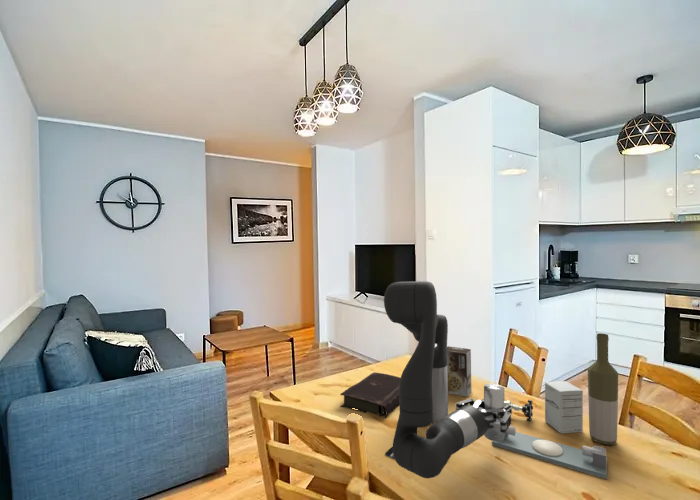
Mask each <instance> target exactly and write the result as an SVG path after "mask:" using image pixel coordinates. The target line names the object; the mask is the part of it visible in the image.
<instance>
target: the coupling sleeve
mask: <svg viewBox="0 0 700 500" xmlns="http://www.w3.org/2000/svg"><path fill="white" fill-rule="evenodd" d="M483 399H484V409H486V410H489V409H496V410H498V409H501V408H503V407H504V401H505V387H504V386H503V385H501V384H497V383H485V384H484V385H483ZM499 417H500V414H499ZM483 436H484V438H486V439H487V440H489V441H491V442H492V441H503V440H504V438H505V433H502V432H501V431H500V428H497V427H493V428H490V429H488V430H487V431H486V433H485V434H484V435H483Z"/></svg>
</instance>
